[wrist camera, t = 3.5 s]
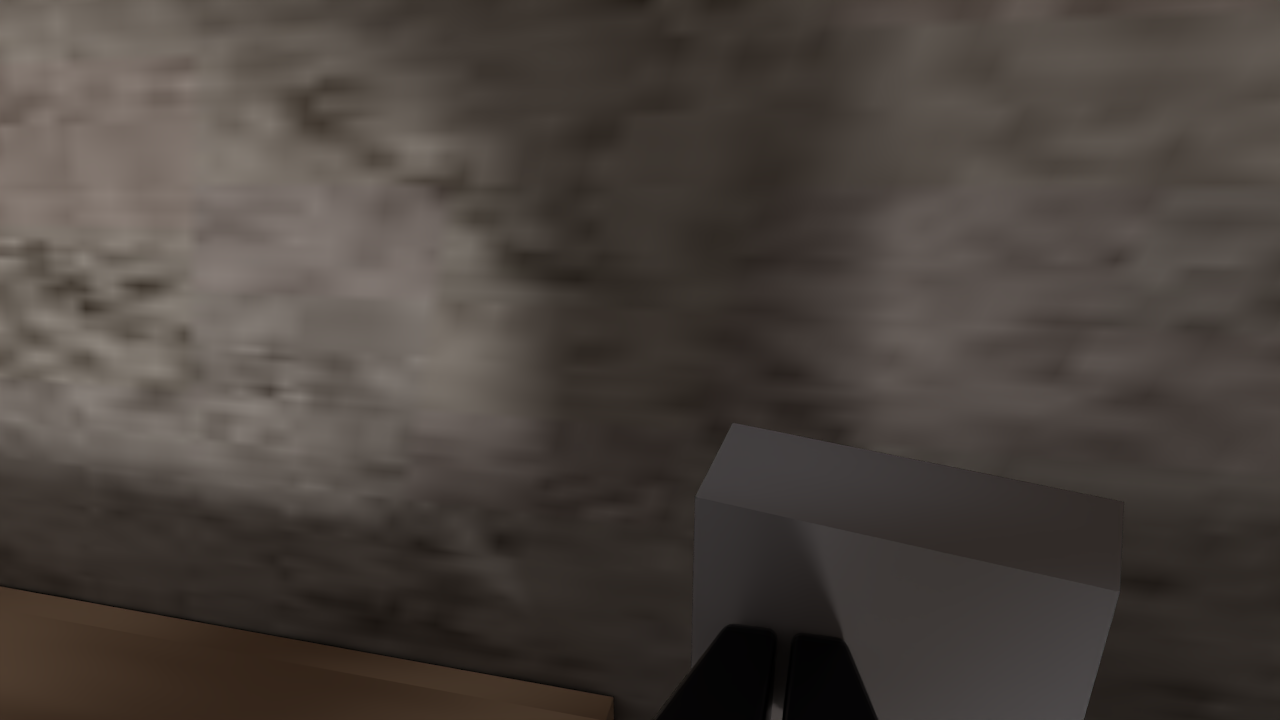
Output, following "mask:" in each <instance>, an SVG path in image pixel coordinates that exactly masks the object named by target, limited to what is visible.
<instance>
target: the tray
mask: <svg viewBox="0 0 1280 720" xmlns="http://www.w3.org/2000/svg"><path fill="white" fill-rule="evenodd" d="M0 720H614V706H613V697H609V696H603V695H598V694H592V693H587V692H581V691H576V690H570V689H565V688H559V687H554V686H548V685H543V684H537V683H532V682H526V681H520V680H515V679H509V678H504V677H498V676H493V675H487V674H482V673H476V672H471V671H465V670H460V669H454V668H449V667H443V666H437V665H432V664H426V663H421V662H415V661H410V660H404V659H399V658H393V657H388V656H382V655H377V654H371V653H366V652H360V651H354V650H349V649H343V648H338V647H332V646H327V645H321V644H316V643H310V642H305V641H299V640H294V639H288V638H283V637H277V636H271V635H266V634H260V633H255V632H249V631H244V630H238V629H233V628H227V627H222V626H216V625H211V624H205V623H200V622H194V621H188V620H183V619H177V618H172V617H166V616H161V615H155V614H150V613H144V612H139V611H133V610H128V609H122V608H116V607H111V606H105V605H100V604H94V603H89V602H83V601H78V600H72V599H67V598H61V597H56V596H50V595H45V594H39V593H33V592H28V591H22V590H17V589H11V588H6V587H0Z"/></svg>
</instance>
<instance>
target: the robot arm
mask: <svg viewBox="0 0 1280 720" xmlns="http://www.w3.org/2000/svg"><path fill="white" fill-rule="evenodd" d="M776 654H777V635H776V633H775V631H773V630H772V629H770V628H764V627H756V626H749V625H741V624H729V625H726V626H725V627H724V628H723V629H722V630H721V631H720V632H719V633H718V635H717V636H716V637H715V639H714V640H713V641H712V643H711V644H710V645H709V646H708V648H707V649H706V650H705V652H704V653H703V654H702V656H701V657H700V658H699V660H698V661H697V662H696V664H695V665H694V666H693V667H692V669H691V670H690V671H689V673H688V674H687V675H686V677H685V678H684V679H683V681H682V682H681V683H680V685H679V686H678V687H677V688H676V690H675V691H674V692H673V694H672V695H671V696H670V698H669V699H668V700H667V702H666V703H665V704H664V706H663V707H662V708H661V709H660V711H659V712H658V713H657V715H656V716H655V717H654V719H653V720H771V714H772V704H773V692H774V679H775V666H776ZM782 720H879V719H878V717H877V714H876V712H875V709H874V707H873V704H872V702H871V700H870V697H869V695H868V692H867V690H866V687H865V685H864V683H863V680H862V678H861V675H860V673H859V670H858V668H857V666H856V663H855V661H854V658H853V656H852V653H851V651H850V649H849V647H848V645H847V644H846V642H845V641H844V640H842V639H841V638H837V637H830V636H823V635H816V634H808V633H798V634H796V635H795V636H794V637H793V639H792V643H791V651H790V659H789V667H788V675H787V683H786V691H785V699H784V707H783V715H782Z"/></svg>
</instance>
